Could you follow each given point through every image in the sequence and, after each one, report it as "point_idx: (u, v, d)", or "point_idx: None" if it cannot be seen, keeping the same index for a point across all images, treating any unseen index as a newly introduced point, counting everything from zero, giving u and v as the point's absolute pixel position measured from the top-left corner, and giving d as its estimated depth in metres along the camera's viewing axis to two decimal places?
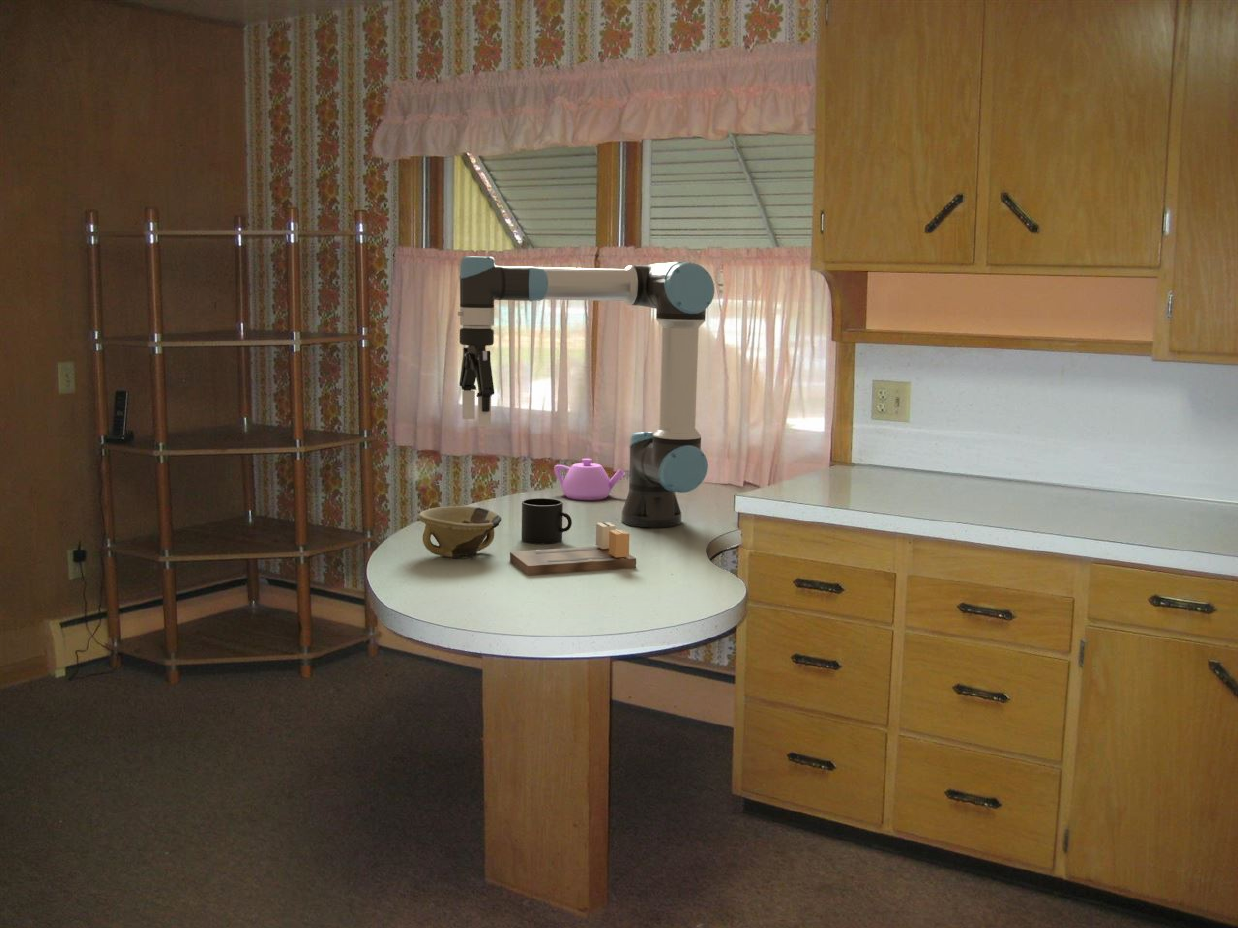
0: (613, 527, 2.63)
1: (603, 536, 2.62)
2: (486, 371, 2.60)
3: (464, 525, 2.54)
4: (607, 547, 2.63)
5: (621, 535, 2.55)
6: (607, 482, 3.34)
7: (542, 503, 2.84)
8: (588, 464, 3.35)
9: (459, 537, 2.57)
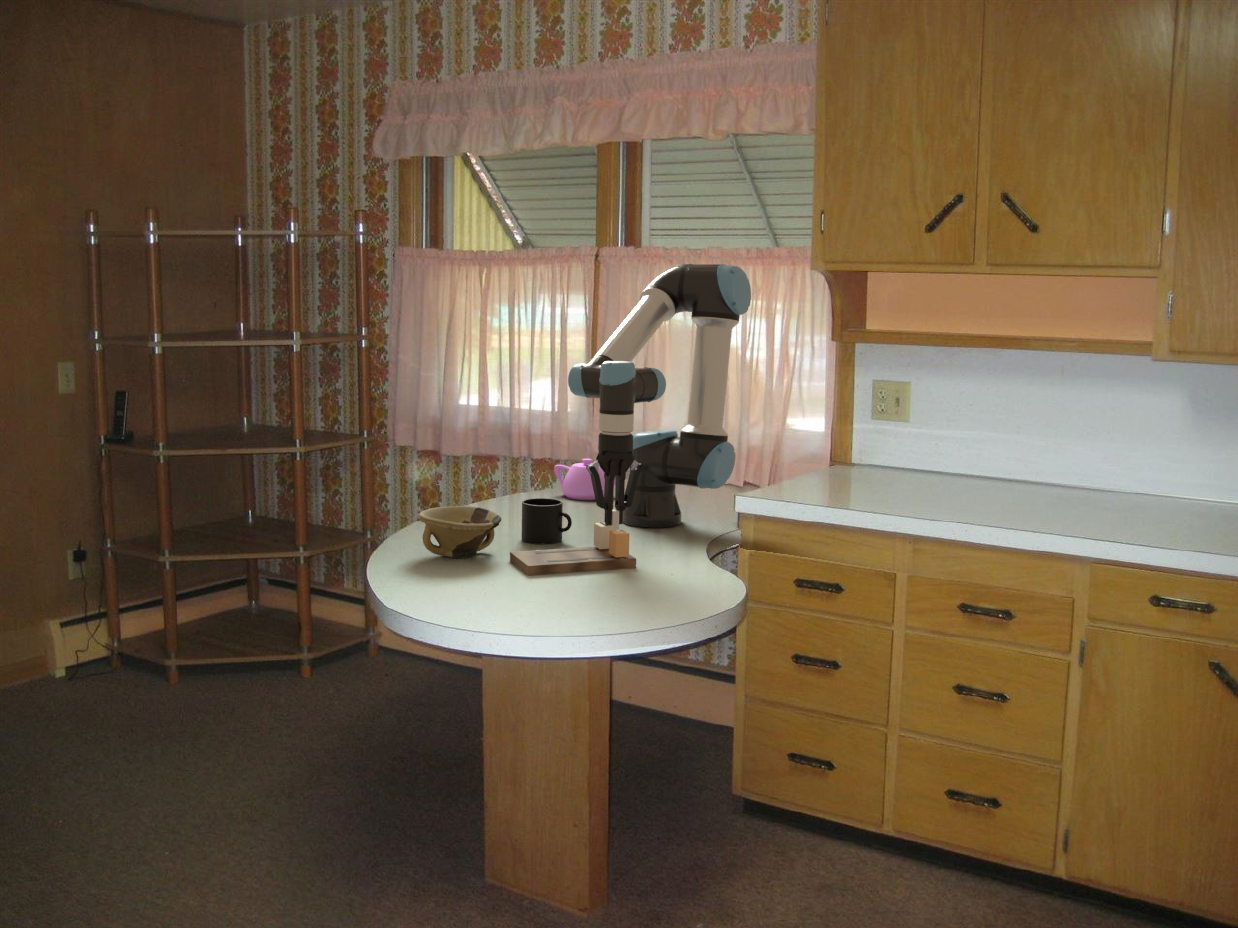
0: (611, 527, 2.63)
1: (601, 536, 2.62)
2: (594, 485, 2.61)
3: (464, 525, 2.54)
4: (605, 547, 2.63)
5: (621, 535, 2.55)
6: None
7: (542, 503, 2.84)
8: None
9: (459, 537, 2.57)
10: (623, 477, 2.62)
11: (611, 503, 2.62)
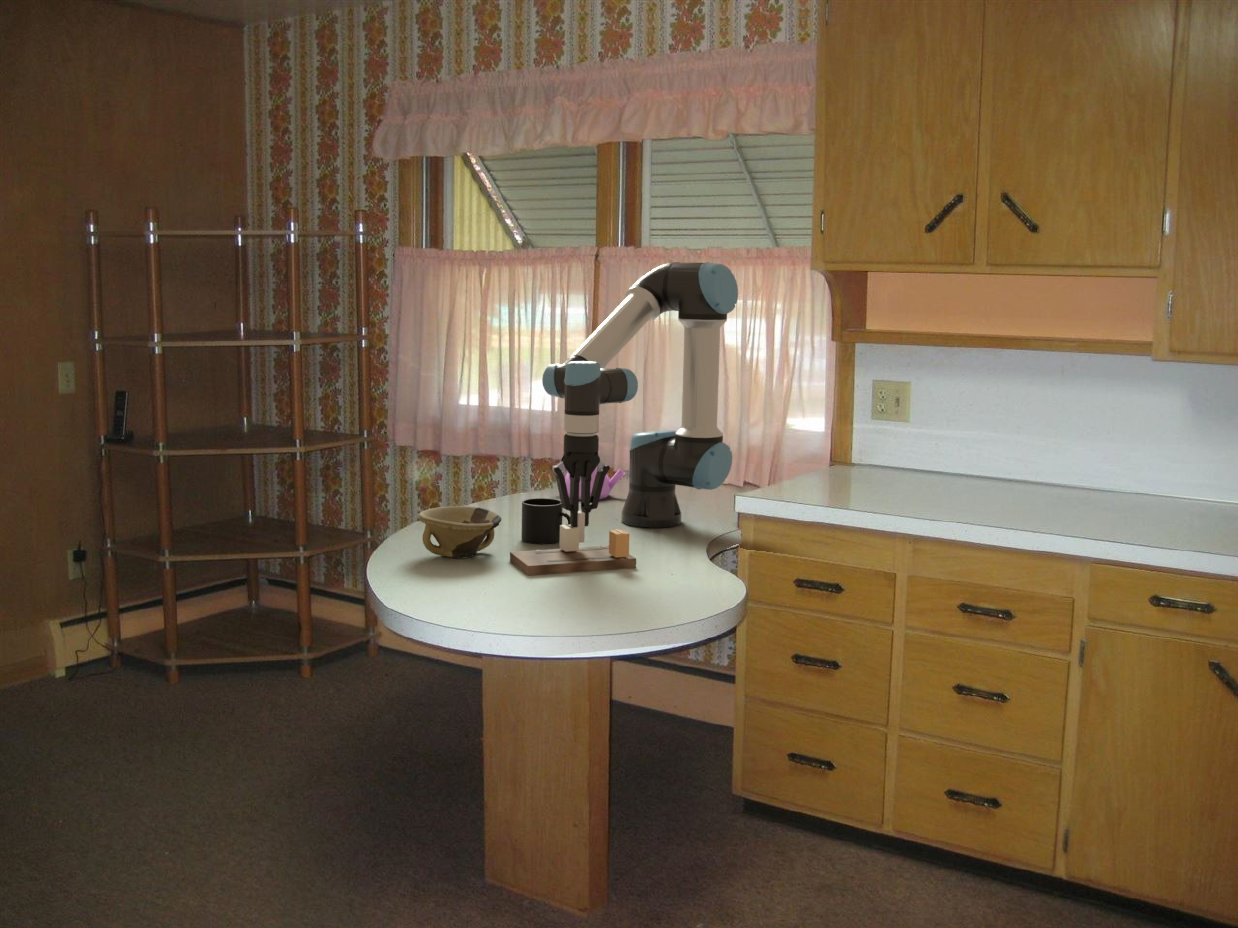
0: (576, 529, 2.60)
1: (566, 539, 2.59)
2: (559, 487, 2.58)
3: (464, 525, 2.54)
4: (570, 549, 2.60)
5: (621, 535, 2.55)
6: (607, 482, 3.34)
7: (542, 503, 2.84)
8: None
9: (459, 537, 2.57)
10: (589, 478, 2.59)
11: (576, 505, 2.59)
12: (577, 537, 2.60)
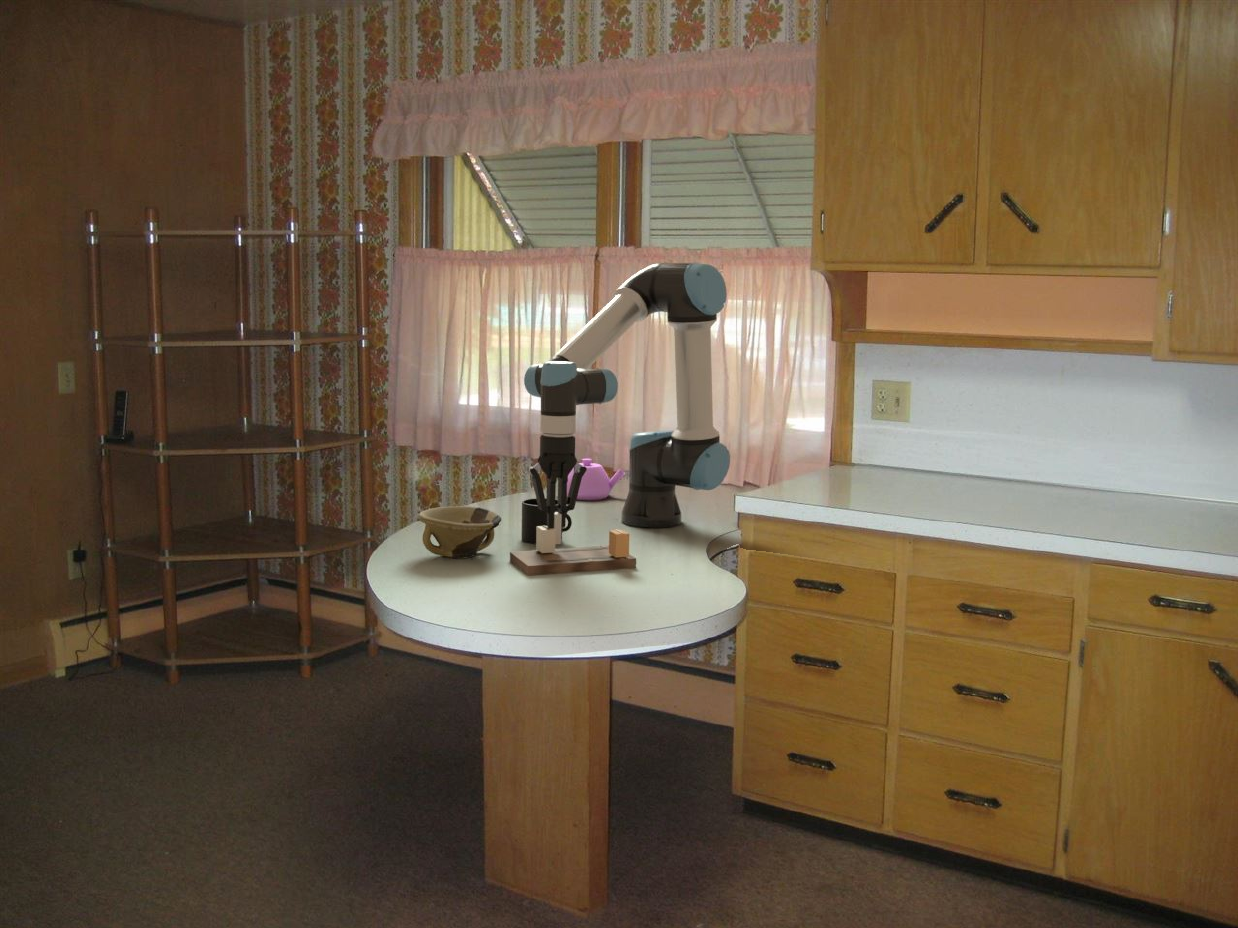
0: (553, 531, 2.58)
1: (543, 540, 2.57)
2: (535, 488, 2.57)
3: (464, 525, 2.54)
4: (547, 551, 2.58)
5: (621, 535, 2.55)
6: (607, 482, 3.34)
7: None
8: (588, 464, 3.35)
9: (459, 537, 2.57)
10: (565, 480, 2.57)
11: (553, 506, 2.58)
12: (554, 538, 2.58)
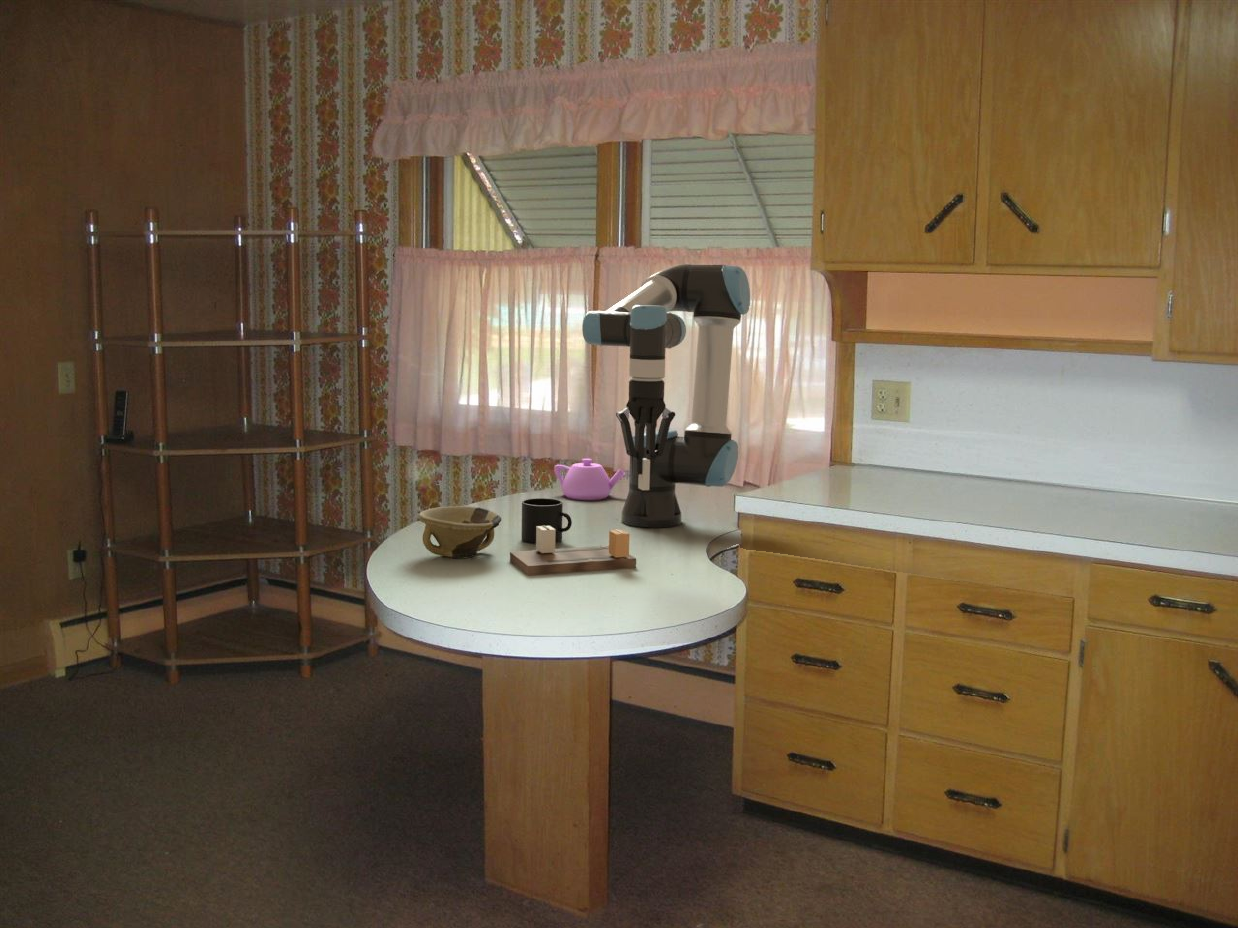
0: (553, 531, 2.58)
1: (543, 540, 2.57)
2: (624, 433, 2.54)
3: (464, 525, 2.54)
4: (547, 551, 2.58)
5: (621, 535, 2.55)
6: (607, 482, 3.34)
7: (542, 503, 2.84)
8: (588, 464, 3.35)
9: (459, 537, 2.57)
10: (654, 425, 2.55)
11: (642, 451, 2.55)
12: (553, 538, 2.58)
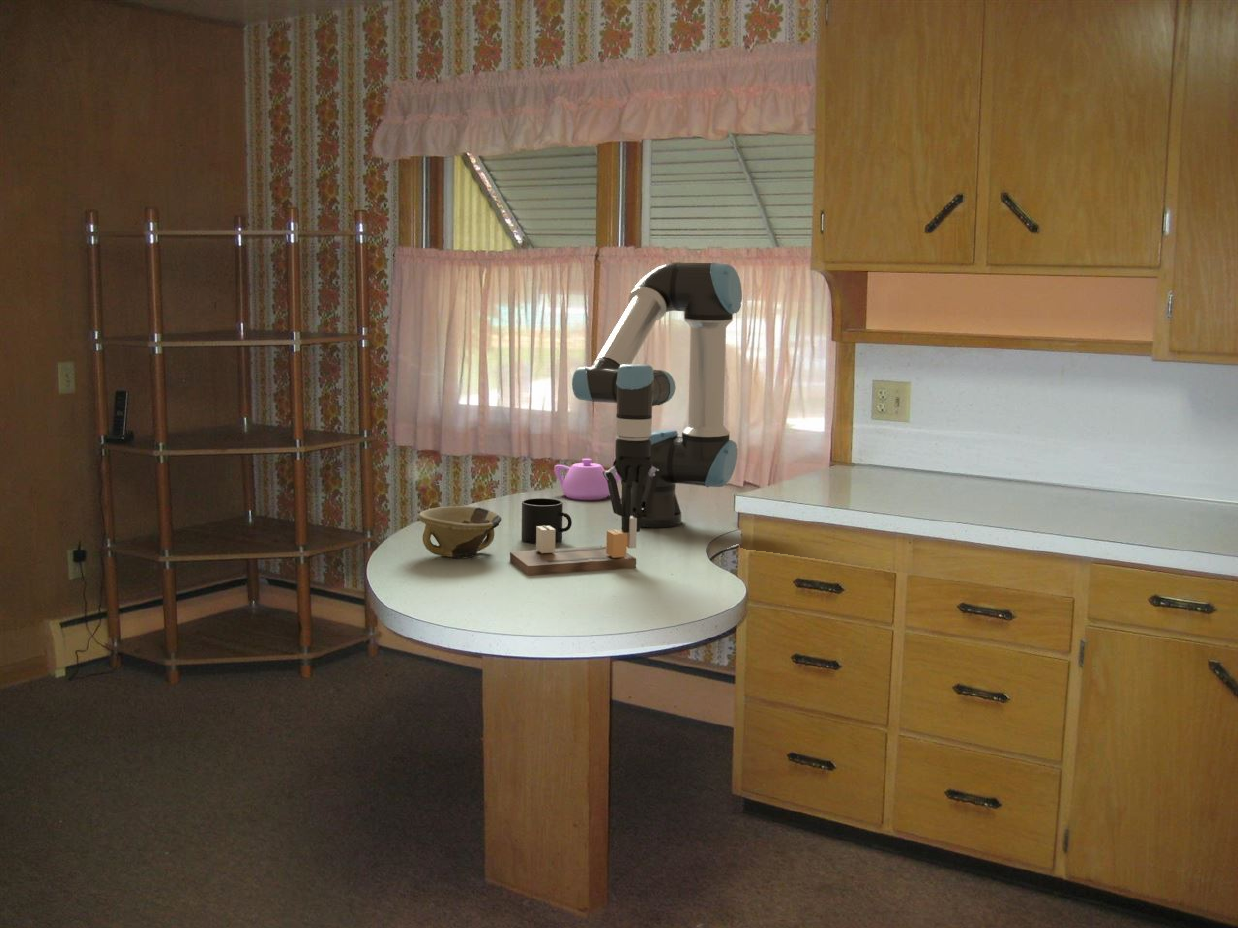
0: (553, 531, 2.58)
1: (543, 540, 2.57)
2: (611, 492, 2.54)
3: (464, 525, 2.54)
4: (547, 551, 2.58)
5: (618, 535, 2.55)
6: None
7: (542, 503, 2.84)
8: (588, 464, 3.35)
9: (459, 537, 2.57)
10: (641, 483, 2.55)
11: (628, 510, 2.55)
12: (553, 538, 2.58)
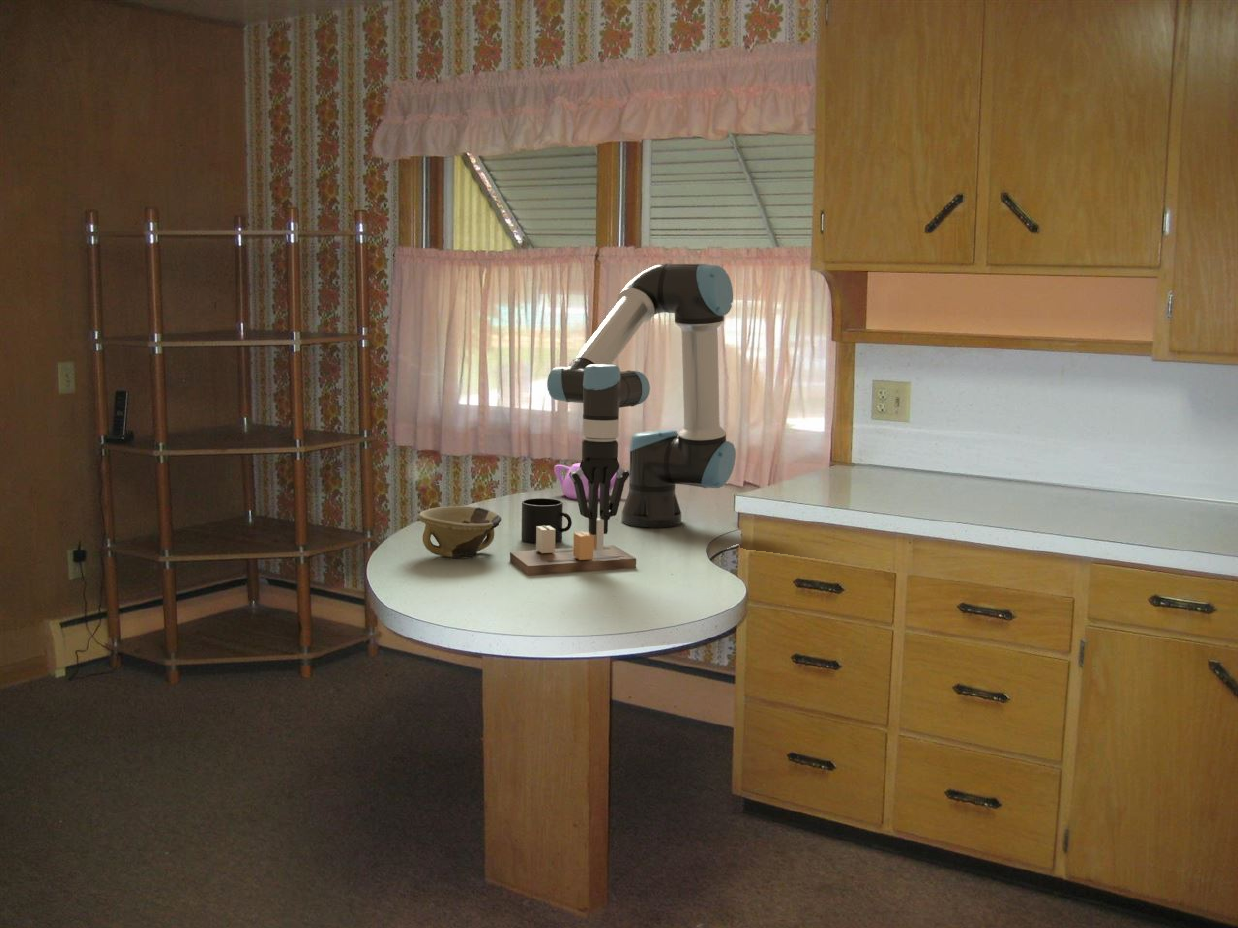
0: (553, 531, 2.58)
1: (543, 540, 2.57)
2: (577, 493, 2.52)
3: (464, 525, 2.54)
4: (547, 551, 2.58)
5: (585, 537, 2.52)
6: None
7: (542, 503, 2.84)
8: None
9: (459, 537, 2.57)
10: (608, 485, 2.52)
11: (595, 512, 2.53)
12: (553, 538, 2.58)
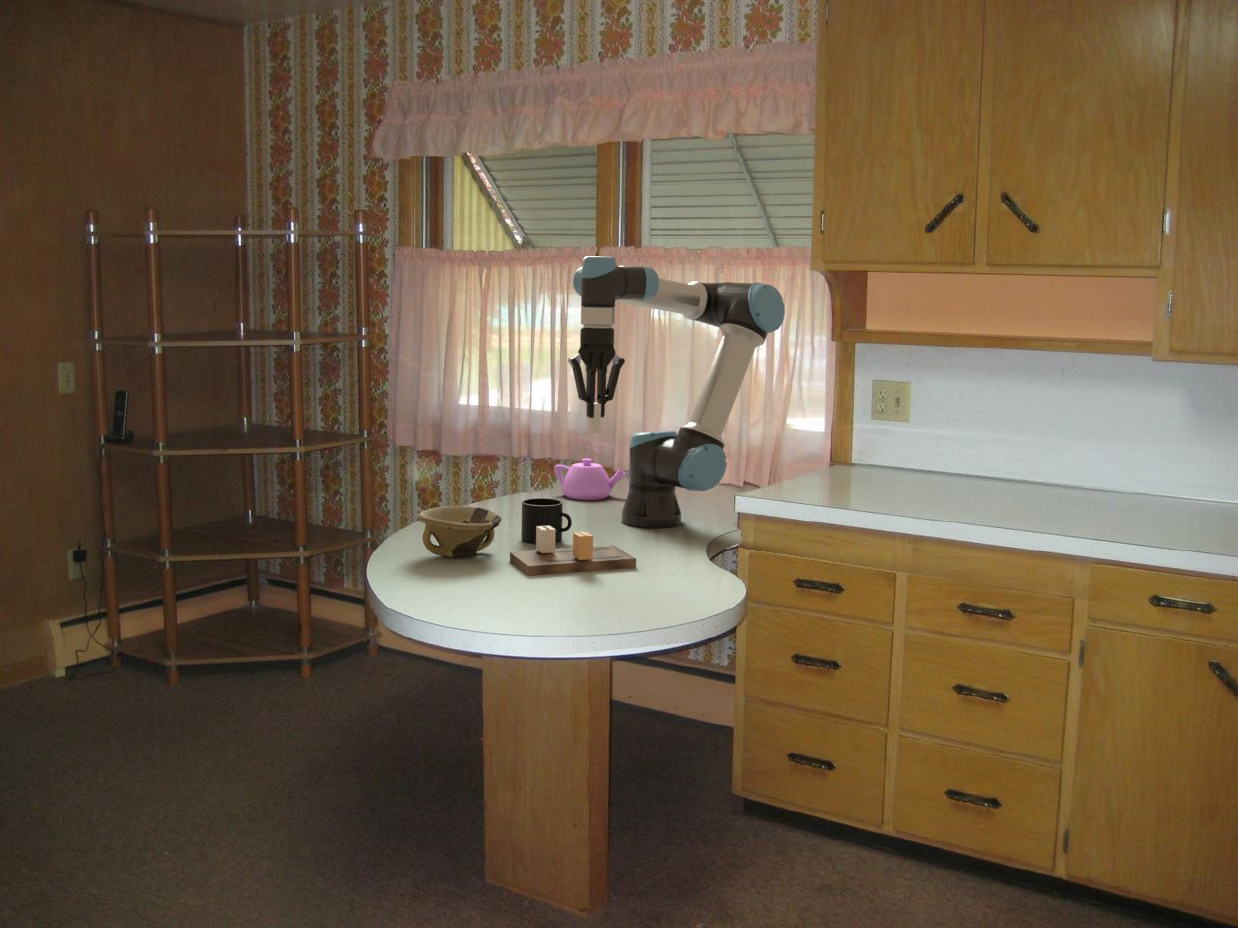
0: (553, 531, 2.58)
1: (543, 540, 2.57)
2: (576, 378, 2.67)
3: (464, 525, 2.54)
4: (547, 551, 2.58)
5: (584, 537, 2.52)
6: (607, 482, 3.34)
7: (542, 503, 2.84)
8: (588, 464, 3.35)
9: (459, 537, 2.57)
10: (604, 370, 2.68)
11: (593, 396, 2.68)
12: (553, 538, 2.58)
